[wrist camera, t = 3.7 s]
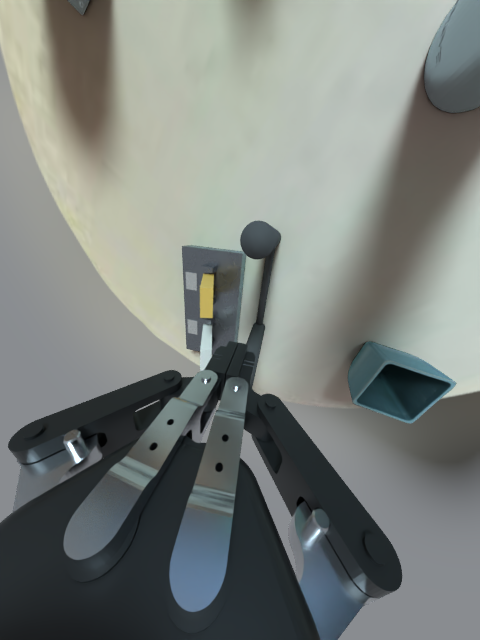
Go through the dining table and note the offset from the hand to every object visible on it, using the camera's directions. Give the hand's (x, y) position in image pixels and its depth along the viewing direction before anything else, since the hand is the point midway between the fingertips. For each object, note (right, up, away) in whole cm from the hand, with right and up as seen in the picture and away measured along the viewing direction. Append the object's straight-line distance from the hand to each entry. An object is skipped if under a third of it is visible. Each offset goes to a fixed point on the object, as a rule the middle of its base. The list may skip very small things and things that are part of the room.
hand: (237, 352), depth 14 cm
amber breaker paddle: (-5, +8, +16) cm, 18 cm away
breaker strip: (-5, +6, +21) cm, 23 cm away
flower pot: (+24, -4, +19) cm, 31 cm away
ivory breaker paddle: (-6, 0, +20) cm, 21 cm away
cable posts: (+5, +8, +18) cm, 20 cm away
